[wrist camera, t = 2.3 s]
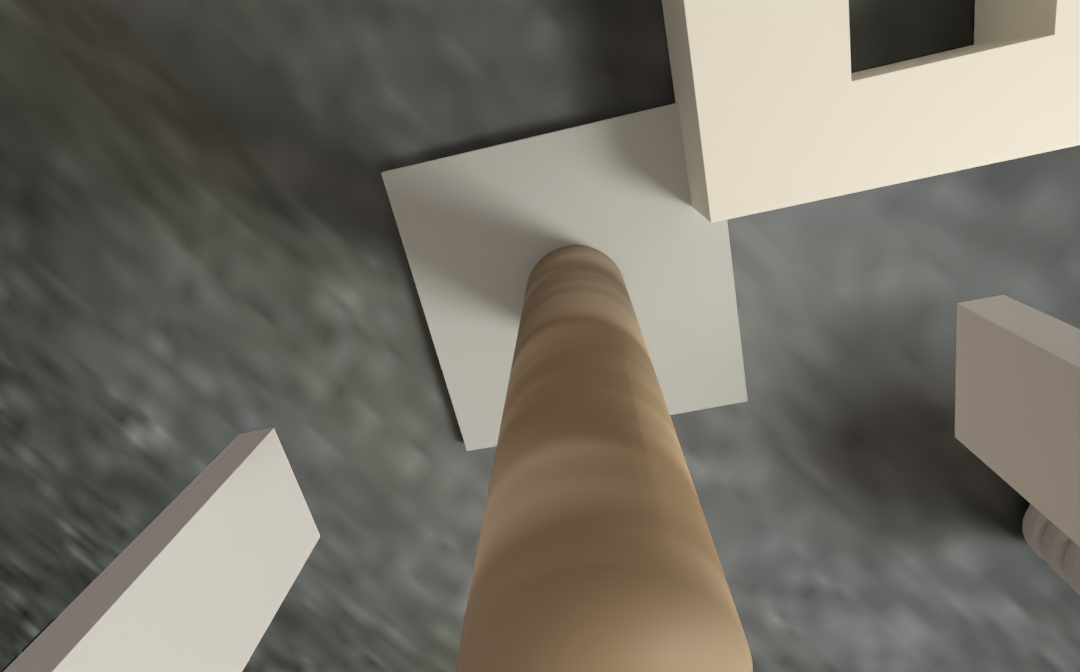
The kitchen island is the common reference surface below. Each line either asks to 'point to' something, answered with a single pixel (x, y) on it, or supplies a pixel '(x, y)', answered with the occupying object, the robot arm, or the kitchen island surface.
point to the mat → (563, 220)
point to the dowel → (592, 502)
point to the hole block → (859, 99)
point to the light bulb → (1052, 546)
